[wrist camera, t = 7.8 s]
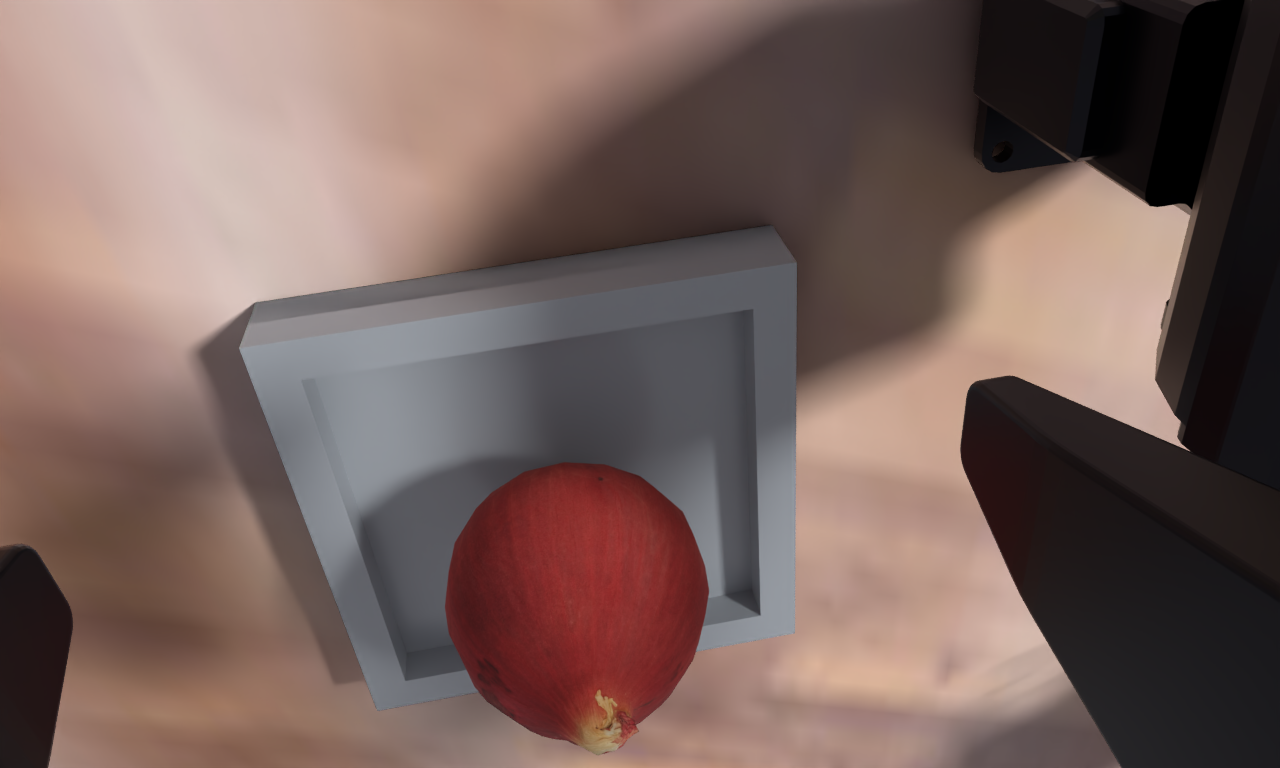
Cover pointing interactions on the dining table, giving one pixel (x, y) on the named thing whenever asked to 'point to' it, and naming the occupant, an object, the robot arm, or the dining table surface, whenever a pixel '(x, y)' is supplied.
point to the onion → (577, 601)
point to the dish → (536, 424)
